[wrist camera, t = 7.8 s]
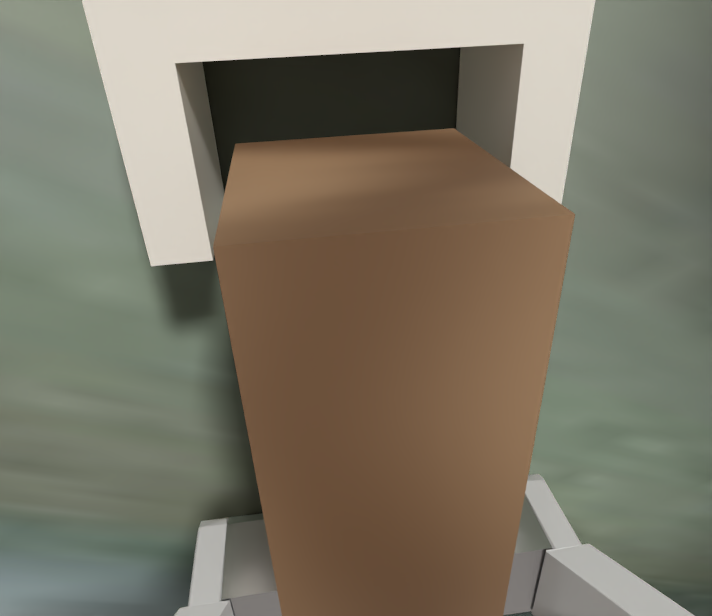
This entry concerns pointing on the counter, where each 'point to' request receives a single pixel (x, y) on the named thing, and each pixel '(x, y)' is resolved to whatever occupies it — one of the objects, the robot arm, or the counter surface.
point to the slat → (389, 362)
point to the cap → (323, 37)
